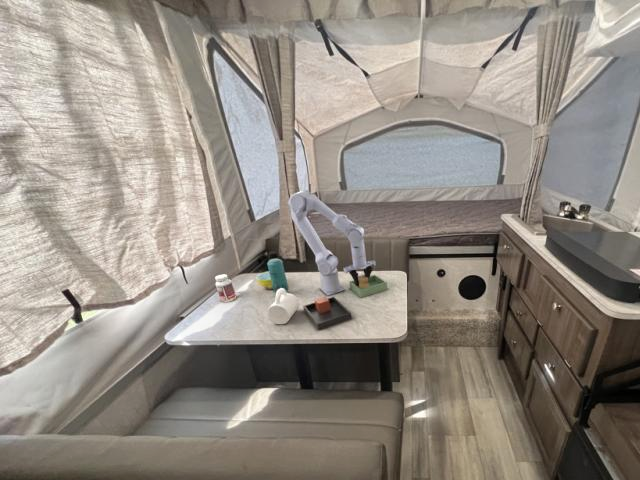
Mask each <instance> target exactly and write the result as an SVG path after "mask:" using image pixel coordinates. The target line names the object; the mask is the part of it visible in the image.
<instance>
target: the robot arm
mask: <svg viewBox="0 0 640 480" xmlns="http://www.w3.org/2000/svg"><path fill="white" fill-rule="evenodd" d="M287 205H288V206H289V208H290V209H289V210H290V215H291V217H290V218H291V220H292V222H293V223H294V224H295V226H296V227H297V229H298V230H299V232H300V234H301V236H302V237H303V239H304V240H305V242H306V243H307V245H308V246H309V248H310V249H311V251H312V253H313V254H314V256H315V264H316V266H317V271H318V272H319V277H320V278H319V279H320V283H321V287H319V289H320V290H321V291H322V292H323V293H324V294H325V295H326V296H330V295H334V294H337V293H341V292H344V291H345V289H344V288H342V287H341V285H340V278H339V271H338V268H337V266H338V265H339V260H338V258H337V256H336V255H334V254H333V253H332V251H331V250H329V249H327V248H326V246H325V244H324V243H323V242H322V240H321V237H320V236H319V235H318V233H317V231H316V230H315V228H314V227H313V225H312V224H311V222H310V221H309V219H308V217H307V215H308V211H316V212H317V213H319V214H320V215H322V216H323V217H325V218H327V219H328V220H330V222H331V223H332V226H333V227H334V228H336V229H337V230H339V232H341V233H342V234H343V235H345V236H347V239H348V241H349V242H350V251H351V259H352V260H351V261H352V264H351V265H349V266H346V267H343V273H344V274H346V275H347V274H350V276H351V277H352V279H353V280H352V281H354V282H355V285H356V286H359V282H358V276H359V272H357V271H359V270H363V275H365V276H366V277H368V281H369V278H370V276H372V275H371V274H372V272H373V267H376V266H377V263H376V262H377V261H375V260H368V261H367V256H366V247H365V240H364V236H365V229H364V228H363V227H362V225H360V224H357V223H355V222H353V221H351V220H350V219H349V218H348V216H347V215H346V214H341V213H339V214H337V213H336V212H335V211H334V210H332V209H331V208H330V207H329V206H328V205H327V204H325V203H324V202H323V201H322V200H320V199H319V198H318V197H317V195H315V194H314V193H312V192H311V191H310V190H308V189H302V190H300V191H298V192H295V193H292V194H291V195H290V196H289V199H288V203H287Z"/></svg>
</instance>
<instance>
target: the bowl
mask: <svg viewBox="0 0 640 480" xmlns="http://www.w3.org/2000/svg"><path fill="white" fill-rule="evenodd" d="M255 279H256V281H257V283H258V284H259V285H260V286H261V287H264V288H266V289H267V290H274V289H273V287H272V286H273V285H272V281H271V277H270V273H269V270H268V271H263V272H261V273H259V274H257V275H256V276H255Z"/></svg>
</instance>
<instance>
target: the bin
mask: <svg viewBox="0 0 640 480" xmlns="http://www.w3.org/2000/svg"><path fill="white" fill-rule="evenodd" d="M349 288H350V290H351V291H352V292H354V293H355V295H357V296H359V297H360V298H364V297H367V296H369V295H373V294H377V293H379V292H383V291H386V290H388V282H387V281H386V280H384V279H383V278H381V277H380V276H378V275H377V274H372V275H370V278H369V287H366V288H363V289H360V288H358V287H357V286H356V285H355V282H354V280H351V281H349Z"/></svg>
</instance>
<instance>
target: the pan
mask: <svg viewBox="0 0 640 480" xmlns="http://www.w3.org/2000/svg"><path fill="white" fill-rule="evenodd" d="M327 299H328V300H329V303H330V309H331V310H330V311H327V312H324V313H319V312H318V310H317V309H316V304H315V302H312V303H308V304H306V305H302V307H303V312H304V313H305V314H306V316H307V317H308V318H309V319H310V321H311V322H312V323H313V325H314V326H315V327H316V329H317V330H318V331H320V330H323V329H326V328H329V327H332V326H335V325H337V324H341V323H344V322H346V321H349V320H352V312H351V311H350V310H349V309H348V308H346V307H345V306H344V305H343V304H342V303H341V302H340V301H339V300H338V299H337V298H336V297H335V296H332V297H329V298H327Z"/></svg>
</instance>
